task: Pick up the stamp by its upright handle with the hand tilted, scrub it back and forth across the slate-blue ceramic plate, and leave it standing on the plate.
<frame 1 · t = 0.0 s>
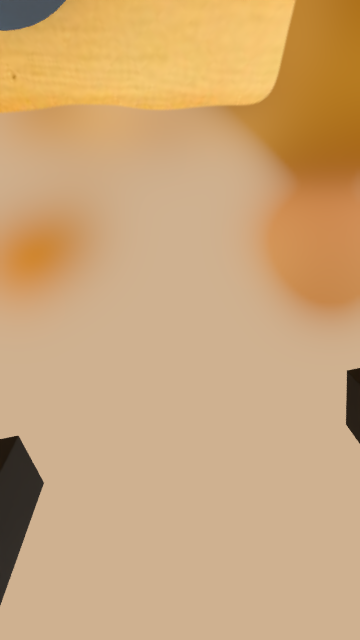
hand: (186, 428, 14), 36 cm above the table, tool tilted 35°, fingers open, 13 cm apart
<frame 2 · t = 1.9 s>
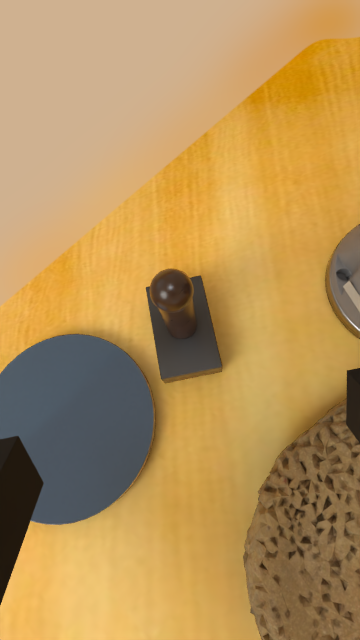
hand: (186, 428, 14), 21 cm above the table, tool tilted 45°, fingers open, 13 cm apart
plate: (68, 421, 35), on the table
sponge: (325, 512, 30), on the table
stamp: (184, 332, 37), on the table
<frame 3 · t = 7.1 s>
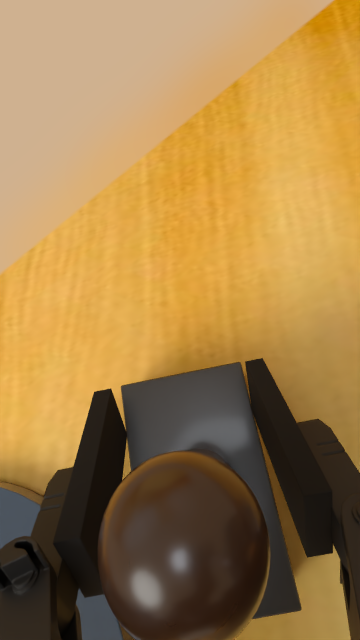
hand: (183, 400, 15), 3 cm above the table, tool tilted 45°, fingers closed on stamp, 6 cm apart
stamp: (202, 478, 17), on the table, touching gripper
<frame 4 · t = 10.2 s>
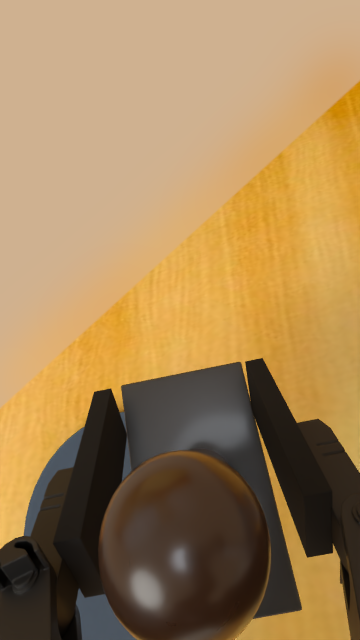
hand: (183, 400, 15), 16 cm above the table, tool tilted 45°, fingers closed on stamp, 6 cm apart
plate: (136, 524, 28), on the table
stamp: (202, 478, 17), point 12 cm above the table, touching gripper
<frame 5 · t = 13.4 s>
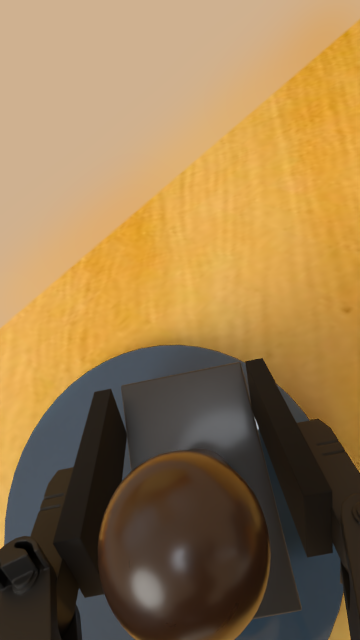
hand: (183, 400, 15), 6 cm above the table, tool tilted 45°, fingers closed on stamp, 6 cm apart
plate: (171, 506, 19), on the table
stamp: (202, 478, 17), point 2 cm above the table, touching gripper
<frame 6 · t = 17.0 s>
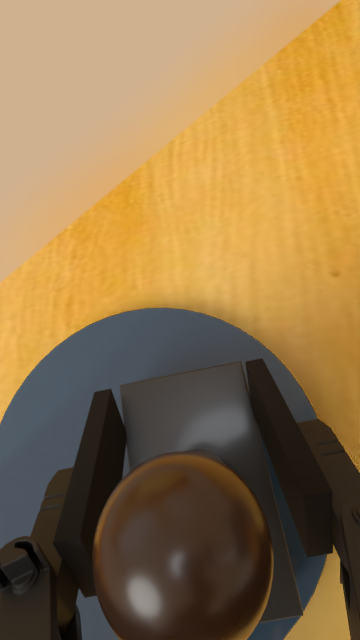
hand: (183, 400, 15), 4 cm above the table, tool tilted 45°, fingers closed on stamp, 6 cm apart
plate: (155, 468, 19), on the table
stamp: (202, 479, 17), point 1 cm above the table, touching gripper
when the fingers open (4 cm above the table, at t = 19.8 s): stamp stays where it is, resting on plate.
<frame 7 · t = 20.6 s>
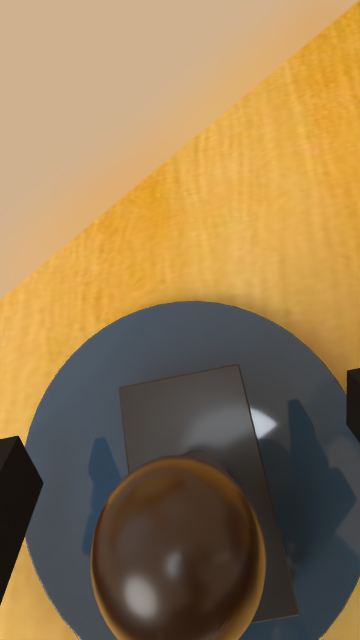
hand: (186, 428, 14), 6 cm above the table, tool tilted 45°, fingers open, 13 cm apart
plate: (190, 461, 19), on the table
stamp: (200, 480, 17), point 1 cm above the table, touching plate
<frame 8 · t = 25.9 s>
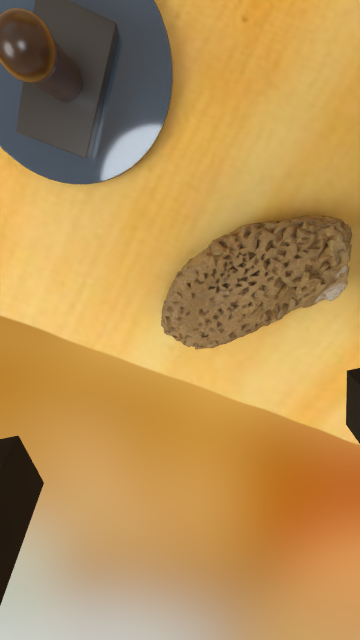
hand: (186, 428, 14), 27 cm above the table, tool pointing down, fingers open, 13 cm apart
plate: (71, 75, 30), on the table
sponge: (243, 276, 39), on the table
stamp: (70, 86, 30), point 1 cm above the table, touching plate
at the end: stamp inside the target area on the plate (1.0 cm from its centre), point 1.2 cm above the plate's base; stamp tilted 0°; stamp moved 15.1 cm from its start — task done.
